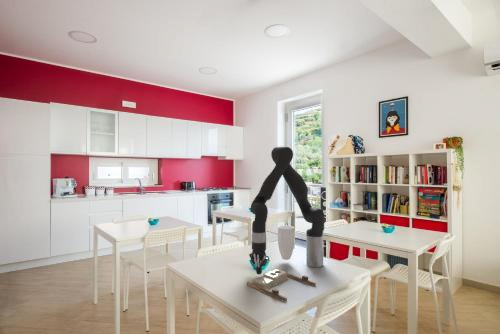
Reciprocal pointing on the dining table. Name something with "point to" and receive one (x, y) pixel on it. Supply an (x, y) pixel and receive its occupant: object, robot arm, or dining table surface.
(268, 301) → the dining table surface
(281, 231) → the cup
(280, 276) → the electrical outlet
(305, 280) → the brown flat piece
